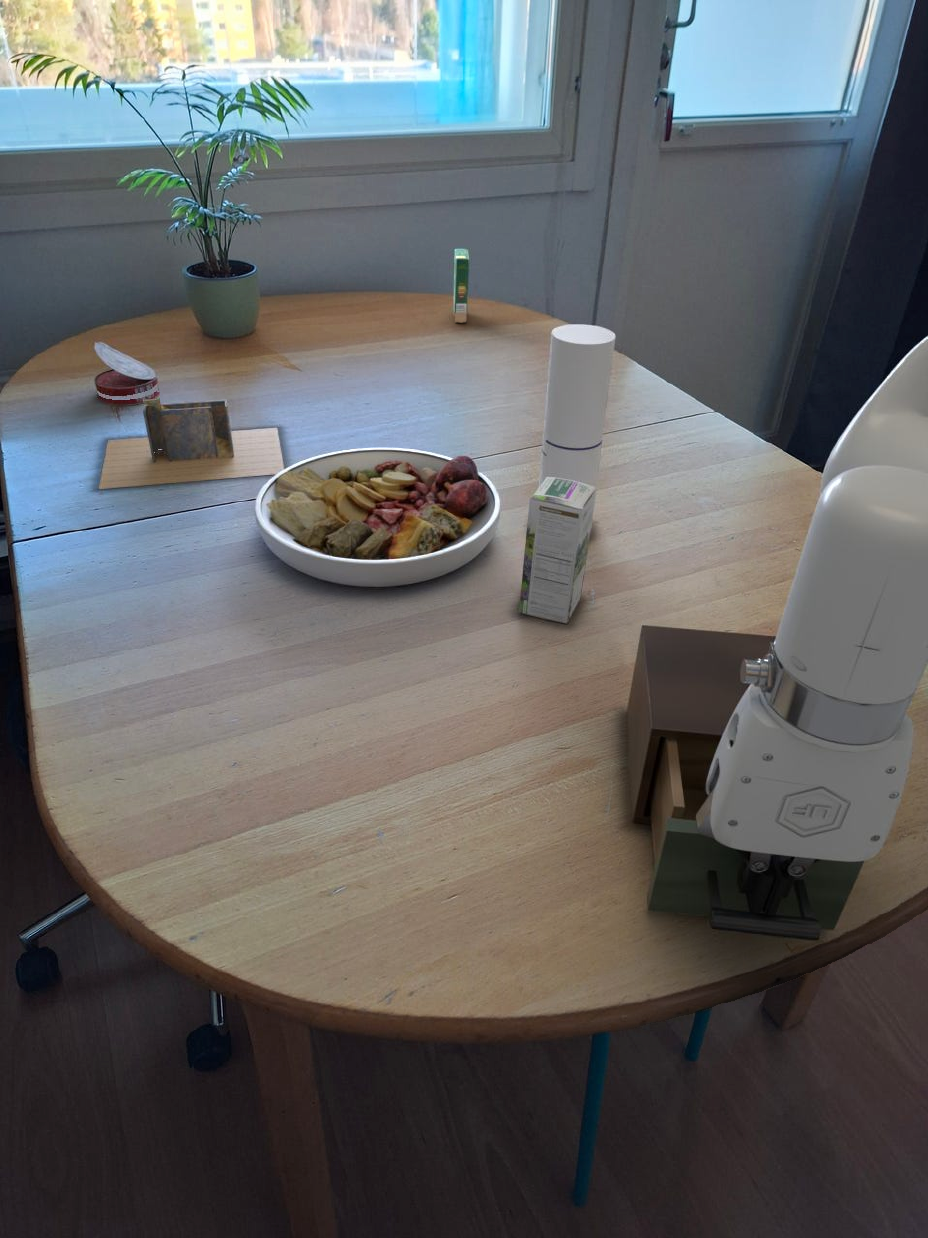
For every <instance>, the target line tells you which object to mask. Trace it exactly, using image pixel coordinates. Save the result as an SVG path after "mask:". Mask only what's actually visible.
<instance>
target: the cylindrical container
mask: <svg viewBox="0 0 928 1238" xmlns="http://www.w3.org/2000/svg"><path fill="white" fill-rule="evenodd" d="M616 337H617V336H616V333H614V332H613V331H612V330H610V329H608V328H607V327H606V328H605V327H603V326H598V325H593V324H583V323H581V324H580V323H574V324H573V323H572V324H564V325H560V326H557V327H555V328H553V329H552V331H551V335H550V349H549V360H548V374H547V386H546V395H545V396H546V399H545V409H544V421H543V433H542V445H541V455H540V456H541V458H540V470H539V482H538V488H539V487H540V486H541V484H542V483H543V481H544V480H545V479H546V477H555V478H562V479H568V480H573V481H577V482H581V483H584V484H587V485H590V486H593V487H595V488H597V487H598V478H599V471H600V463H601V455H602V448H603V439H604V431H605V423H606V415H607V408H608V399H609V391H610V384H611V375H612V369H613V362H614V361H613V359H614V353H615V344H616ZM594 510H595V509H594ZM594 510H593V512H594ZM593 519H594V516H593V517H592V520H593ZM592 527H593V524H592V525H591V529H592ZM591 533H592V531H591V532H590V534H591Z"/></svg>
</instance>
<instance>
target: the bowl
mask: <svg viewBox="0 0 928 1238" xmlns="http://www.w3.org/2000/svg"><path fill="white" fill-rule="evenodd" d="M501 503H502V502H501V497H500V493H499V492H498V490H497V487H496V486H495V485H494V484H493V482H492V481H491V480H490V479H489V477H487V476H486V475H485V474H483V473H482V472H481V471H480V470H478V467H477V465H476V463H475V461H474V460H473V459H472V458H471V457H469V456H467V455H458V456H455V457H453V458H452V457H450V456H445V455H443V454H439V453H435V452H429V451H424V450H418V449H410V448H401V447H400V448H399V447H365V448H363V447H362V448H353V449H346V450H345V449H344V450H337V451H333V452H328V453H324V454H320V455H317V456H313V457H310V458H307V459H305V460H301V461H299V462H296V463H294V464H292V465H290V466H288V467H285V468H284V470H283V471H281V472H279V473H278V474H274V475H273V476H272V477H271V478H270V479H268V481H266V482H265V484H264V485H263V486H262V487H261V489H260V491H259V492H258V493H257V496H256V497H255V501H254V517H255V522H256V526H257V530H258V532H259V534H260V536H261V538H262V540H263V542H264V543H265V544H266V546H267V547H268V548H269V550H270V551H271V552H272V553H273V554H274V555H275V556H276V557H277V558H278V559H280V560H281V561H282V562H284V563H285V564H287V565H288V566H290V567H292V568H293V569H295V570H296V571H298V572H300V573H303V574H305V575H307V576H310V577H313V578H316V579H319V580H321V581H326V582H330V583H334V584H339V585H344V586H351V587H353V586H354V587H366V588H386V587H398V586H406V585H411V584H412V585H413V584H418V583H421V582H422V583H423V582H426V581H430V580H432V579H436V578H439V577H442V576H445V575H447V574H449V573H451V572H453V571H455V570H458V569H460V568H461V567H464V566H465V565H467V564H468V563H469V562H471V561H472V560H474V559H475V558H476V557H477V556H478V555H480V553H481V552H482V551H484V549H485V548H486V547H487V546H488V544H489V543H490V542H491V540H492V539H493V537H494V535H495V533H496V531H497V529H498V525H499V522H500V517H501V507H502V506H501V505H502V504H501Z"/></svg>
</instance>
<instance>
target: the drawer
mask: <svg viewBox="0 0 928 1238" xmlns="http://www.w3.org/2000/svg"><path fill="white" fill-rule="evenodd" d="M719 743H720V742H712V741H701V740H691V739H680V738H669V737H660V741H659V746H658V750H657V755H656V760H655V765H654V769H653V774H652V779H651V784H650V788H649V802H650V814H651V824H650V825H651V826H650V827H651V837H652V850H653V861H654V863H653V864H654V866H653V869H652V875H651V879H650V884H649V887H648V892H647V896H646V901H647V902H646V903H647V910H648V911H653V912H660V913H661V912H662V913H670V914H680V915H690V916H698V917H706V918H708V921H707V922H708V927H709V929H710V930H712V931H720V932H731V933H740V934H749V935H759V936H767V937H776V938H785V939H794V940H803V941H812V942H819V941H820V940H821V936H822V930H827V931H834V930H835V928H836V926H837V925H838V922H839V920H840V917H841V915H842V913H843V910H844V908H845V906H846V904H847V902H848V899H849V897H850V894H852V890H853V888H854V886H855V884H856V881H857V879H858V877H859V875H860V872H861V871H862V869H863V865H864V863H865V861H866V860H864V861H856V862H847V861H834V860H824V859H822V860H820V861H818V862H815V863H813V864H812V865H811V867H810V868H809V870H808V871H807V873H806V874H805V875H803V876H800V877H795V879H794V881H793V884H792V886H791V889H790V891H789V894H788V896H787V898H782V899H781V902H780V904H779V907H778V909H777V912H776V914H775V916H770V915H766V914H765V913H763V911H762V912H759V914H753V913H750V912H749V908H748V903H747V898H746V894H744V893H740V892H739V889H738V883H737V876H738V871H739V868H740V865H741V862H742V859H743V856H742V855H741V854H740V853H739V852H738V851H737V850H736V849H734V848H731V847H728V846H725V845H723V844H721V843H720V842H718V841H717V840H716V839H713V838H710V837H706V836H703V835H701V834H699V833H698V829H697V822H696V814H697V813H698V811H699V810H700V808H701V807H702V805H703V804H704V802H705V801H706V799H707V798H708V796H709V795H708V794H707V792H706V782H707V777H708V773H709V770H710V767H711V764H712V761H713V758H714V755H715V753H716V750H717V748H718V745H719Z"/></svg>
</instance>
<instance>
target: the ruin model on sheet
mask: <svg viewBox="0 0 928 1238" xmlns="http://www.w3.org/2000/svg"><path fill="white" fill-rule="evenodd" d="M142 400H143V399H142ZM142 404H143V409H142V415H143V419H144V424H145V429H146V434H147V436H146V437H145V436H144V437H132V438H117V439H108V440H107V442H106V443H107V444H106V449H105V453H104V460H103V464H102V470H101V475H100V479H99V485H98V490H105V489H106V490H107V489H118V488H119V489H120V488H131V487H142V486H153V485H155V486H156V485H165V484H167V485H168V484H176V483H178V484H179V483H188V482H189V483H190V482H202V481H210V480H211V481H214V480H223V479H225V480H226V479H236V478H248V477H260V476H261V477H262V476H271V475H272V476H274V475H276V474H278V473H279V472H281V471H283V470H284V469H285V464H284V463H285V462H284V458H283V453H282V447H281V441H280V436H279V430H278V427H268V428H256V429H255V428H254V429H240V430H232V427H231V421H230V414H229V413H230V412H229V406H228V405H229V404H228V400H227V399H218V400H215V399H214V400H201V401H200V400H199V401H186V402H185V401H184V402H172V403H161V399H160V397H156V398H155V399H150V400H143V403H142ZM158 449H162V450H158ZM154 452H155V453H154Z"/></svg>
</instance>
